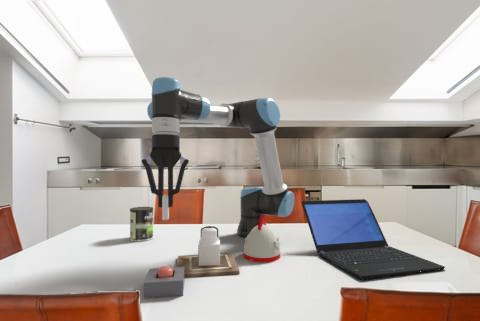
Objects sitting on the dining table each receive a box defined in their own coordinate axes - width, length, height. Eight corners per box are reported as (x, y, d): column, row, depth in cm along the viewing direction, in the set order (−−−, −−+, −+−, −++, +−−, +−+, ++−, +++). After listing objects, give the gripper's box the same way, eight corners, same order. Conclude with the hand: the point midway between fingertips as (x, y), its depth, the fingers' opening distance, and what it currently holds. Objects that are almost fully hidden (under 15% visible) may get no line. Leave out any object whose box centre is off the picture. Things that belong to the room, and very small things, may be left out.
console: (184, 280, 85) (184, 266, 85) (183, 295, 75) (183, 280, 75) (149, 282, 83) (149, 268, 83) (143, 298, 73) (143, 282, 73)
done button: (173, 276, 81) (173, 265, 81) (172, 282, 77) (172, 271, 77) (158, 277, 81) (159, 266, 81) (157, 283, 77) (157, 272, 77)
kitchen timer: (283, 252, 111) (283, 214, 111) (276, 264, 98) (276, 221, 98) (249, 249, 115) (249, 212, 116) (238, 260, 102) (238, 218, 103)
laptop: (360, 283, 84) (360, 217, 84) (300, 246, 120) (300, 200, 120) (447, 271, 92) (446, 212, 93) (367, 241, 129) (366, 198, 129)
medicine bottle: (199, 259, 100) (199, 225, 100) (219, 258, 101) (219, 224, 101) (198, 266, 93) (198, 229, 93) (220, 265, 94) (220, 229, 94)
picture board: (232, 255, 107) (232, 252, 107) (239, 274, 89) (239, 269, 89) (178, 258, 104) (178, 254, 104) (174, 278, 86) (174, 273, 86)
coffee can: (157, 236, 135) (157, 206, 135) (144, 242, 125) (144, 210, 125) (138, 235, 137) (138, 206, 138) (124, 240, 128) (124, 209, 128)
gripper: (138, 132, 74) (138, 222, 74) (189, 133, 77) (189, 220, 76) (143, 135, 82) (143, 217, 82) (189, 136, 84) (189, 215, 84)
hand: (165, 218), depth 79 cm, fingers closed
